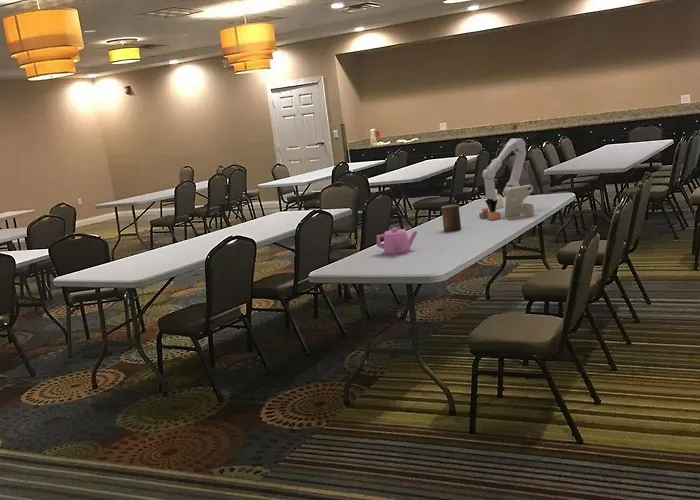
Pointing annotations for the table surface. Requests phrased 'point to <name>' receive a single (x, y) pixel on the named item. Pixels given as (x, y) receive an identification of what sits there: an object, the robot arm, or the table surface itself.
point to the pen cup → (494, 215)
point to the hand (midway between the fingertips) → (492, 211)
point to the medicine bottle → (499, 199)
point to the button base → (483, 215)
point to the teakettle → (396, 241)
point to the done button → (485, 210)
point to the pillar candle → (451, 217)
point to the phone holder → (518, 203)
